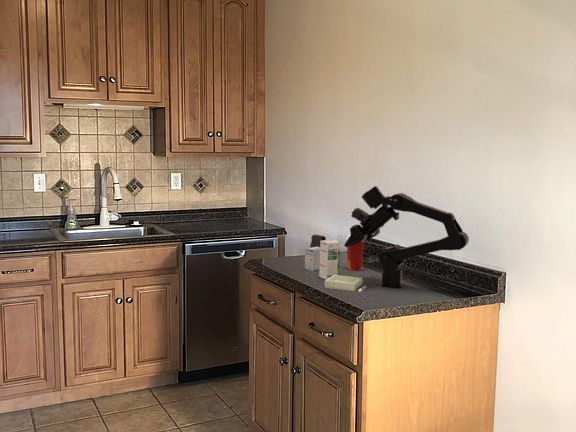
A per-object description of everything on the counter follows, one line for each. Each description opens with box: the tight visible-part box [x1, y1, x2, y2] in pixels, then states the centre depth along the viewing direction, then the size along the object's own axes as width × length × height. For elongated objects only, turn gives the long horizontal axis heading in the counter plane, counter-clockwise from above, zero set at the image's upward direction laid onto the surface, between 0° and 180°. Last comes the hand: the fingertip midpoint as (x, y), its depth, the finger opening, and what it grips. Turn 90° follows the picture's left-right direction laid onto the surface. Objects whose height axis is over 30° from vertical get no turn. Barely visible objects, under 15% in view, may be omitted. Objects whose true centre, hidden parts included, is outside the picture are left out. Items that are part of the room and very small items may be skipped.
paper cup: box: [346, 234, 365, 272], centre depth 265 cm, size 8×8×14 cm
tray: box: [323, 274, 363, 292], centre depth 234 cm, size 11×11×3 cm
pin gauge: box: [357, 285, 368, 294], centre depth 229 cm, size 8×1×1 cm
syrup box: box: [318, 239, 341, 280], centre depth 247 cm, size 6×6×14 cm
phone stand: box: [309, 234, 327, 248], centre depth 277 cm, size 9×6×12 cm, turn 129°
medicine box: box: [304, 247, 320, 272], centre depth 264 cm, size 8×4×9 cm, turn 141°
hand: (349, 244), depth 243 cm, fingers open, 9 cm apart
